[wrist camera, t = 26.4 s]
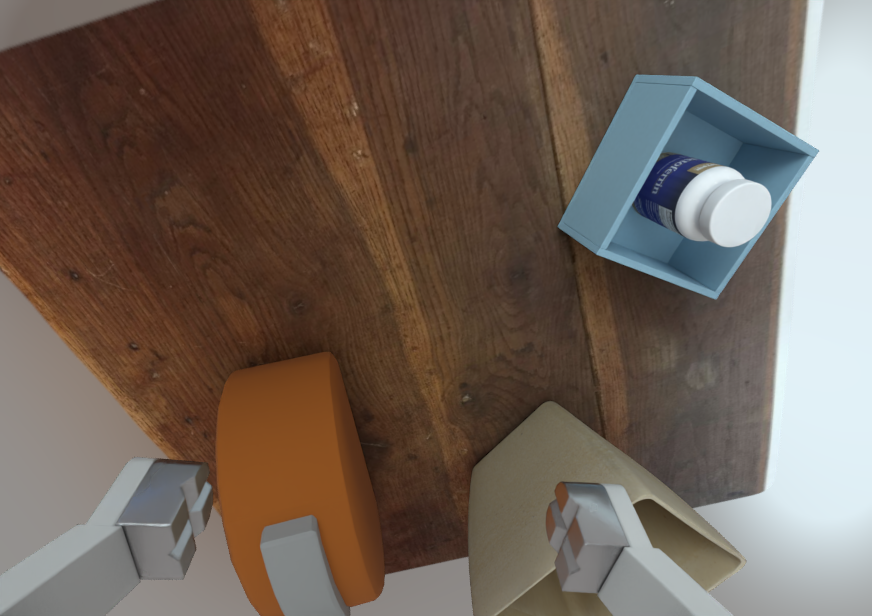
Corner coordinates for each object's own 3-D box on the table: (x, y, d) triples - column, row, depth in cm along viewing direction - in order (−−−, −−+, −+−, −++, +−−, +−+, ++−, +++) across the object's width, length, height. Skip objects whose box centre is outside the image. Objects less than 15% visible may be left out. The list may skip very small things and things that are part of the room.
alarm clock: (230, 353, 41) (176, 513, 26) (332, 332, 42) (334, 474, 27) (300, 523, 52) (289, 701, 37) (378, 503, 53) (398, 668, 39)
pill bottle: (669, 136, 39) (766, 156, 30) (694, 186, 42) (789, 217, 33) (614, 182, 40) (692, 215, 31) (642, 228, 43) (721, 270, 34)
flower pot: (644, 437, 57) (753, 565, 42) (534, 530, 61) (598, 675, 47) (552, 362, 49) (647, 491, 34) (431, 476, 53) (470, 634, 38)
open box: (635, 74, 37) (696, 76, 31) (747, 137, 41) (819, 150, 35) (557, 226, 41) (596, 254, 35) (664, 268, 46) (716, 299, 40)
